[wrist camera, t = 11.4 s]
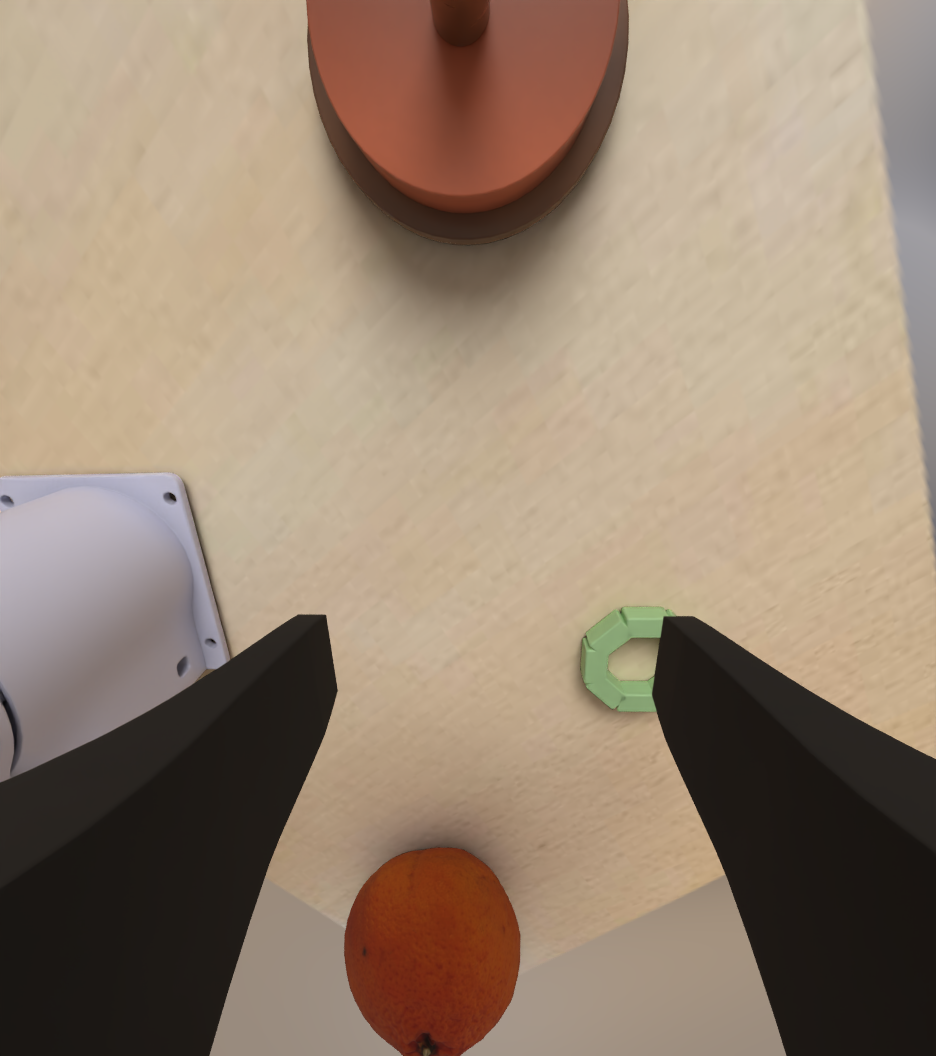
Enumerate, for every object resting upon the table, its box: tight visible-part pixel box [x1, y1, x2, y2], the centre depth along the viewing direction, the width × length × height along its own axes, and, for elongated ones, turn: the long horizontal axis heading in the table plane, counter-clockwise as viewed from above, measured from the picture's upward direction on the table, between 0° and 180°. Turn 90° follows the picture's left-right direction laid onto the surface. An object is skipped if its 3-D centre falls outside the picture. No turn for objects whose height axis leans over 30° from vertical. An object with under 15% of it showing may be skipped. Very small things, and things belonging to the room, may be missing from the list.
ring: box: [580, 607, 676, 712], centre depth 21 cm, size 5×5×1 cm
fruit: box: [344, 847, 520, 1056], centre depth 24 cm, size 9×9×8 cm
